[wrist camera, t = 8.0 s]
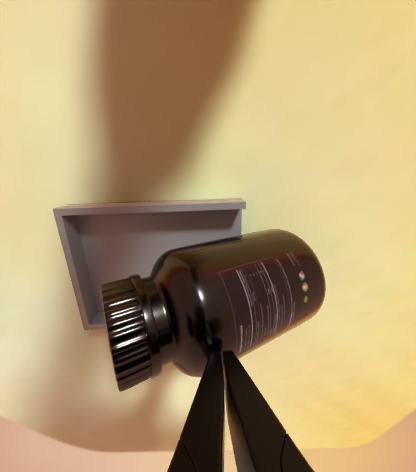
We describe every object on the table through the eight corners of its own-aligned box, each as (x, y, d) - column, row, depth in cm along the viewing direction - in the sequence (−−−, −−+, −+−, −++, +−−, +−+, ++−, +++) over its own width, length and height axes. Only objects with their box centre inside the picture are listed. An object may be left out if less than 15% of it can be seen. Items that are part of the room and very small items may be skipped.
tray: (240, 198, 16) (245, 202, 15) (238, 307, 20) (242, 322, 18) (70, 204, 16) (52, 209, 14) (96, 314, 19) (84, 329, 17)
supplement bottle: (262, 308, 18) (116, 369, 13) (248, 233, 18) (98, 261, 13) (342, 333, 12) (127, 473, 7) (319, 220, 12) (90, 264, 7)
